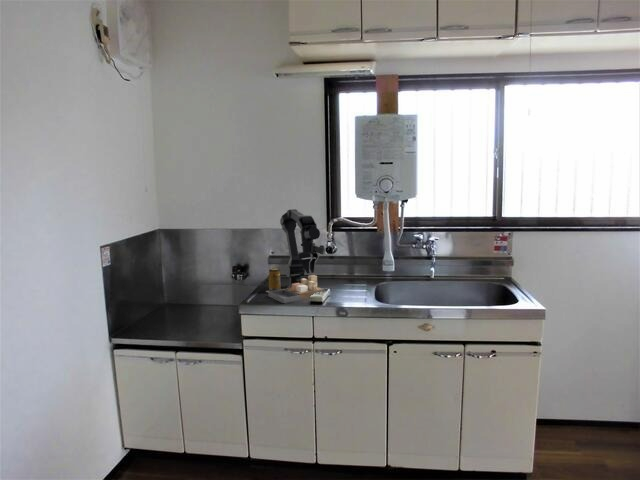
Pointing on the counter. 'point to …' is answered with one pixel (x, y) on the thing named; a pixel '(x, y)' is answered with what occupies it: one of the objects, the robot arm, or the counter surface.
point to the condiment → (274, 280)
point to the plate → (305, 294)
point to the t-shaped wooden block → (310, 282)
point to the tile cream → (302, 288)
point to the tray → (284, 296)
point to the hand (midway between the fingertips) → (310, 273)
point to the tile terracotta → (295, 285)
